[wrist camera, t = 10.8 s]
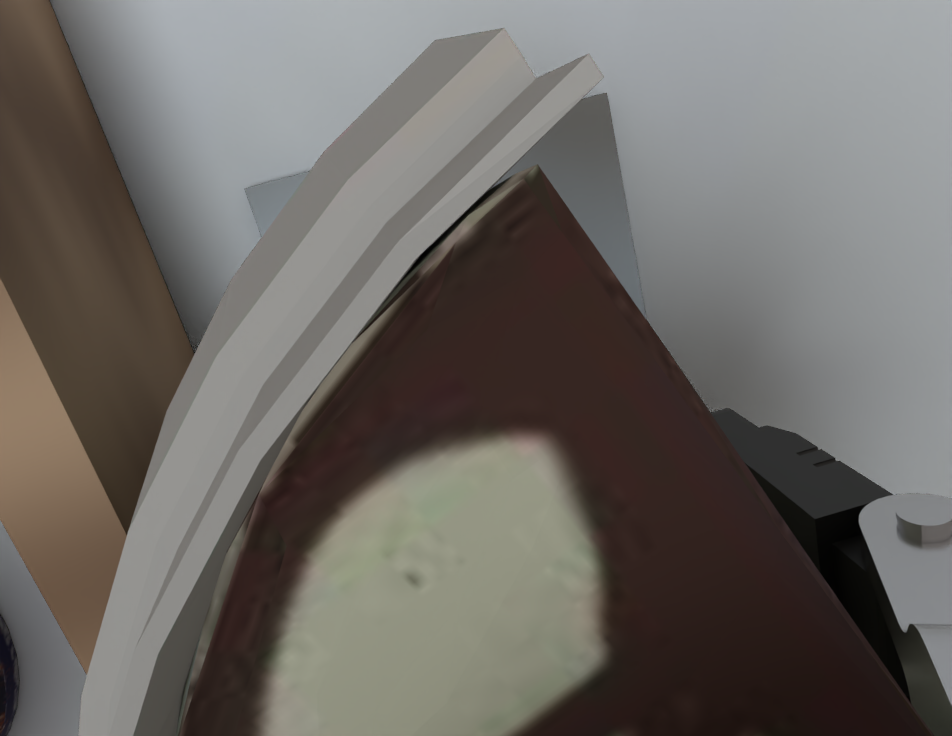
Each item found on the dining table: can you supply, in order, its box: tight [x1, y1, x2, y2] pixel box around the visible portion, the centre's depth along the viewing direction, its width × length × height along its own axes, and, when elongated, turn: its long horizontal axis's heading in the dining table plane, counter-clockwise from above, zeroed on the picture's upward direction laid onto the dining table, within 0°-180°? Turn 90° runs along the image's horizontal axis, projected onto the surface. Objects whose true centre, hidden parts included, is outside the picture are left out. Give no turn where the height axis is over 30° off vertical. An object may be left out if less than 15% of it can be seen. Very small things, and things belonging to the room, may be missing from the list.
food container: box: [78, 28, 934, 736], centre depth 9 cm, size 12×6×10 cm, turn 37°
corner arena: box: [0, 0, 647, 674], centre depth 12 cm, size 20×12×5 cm, turn 14°
